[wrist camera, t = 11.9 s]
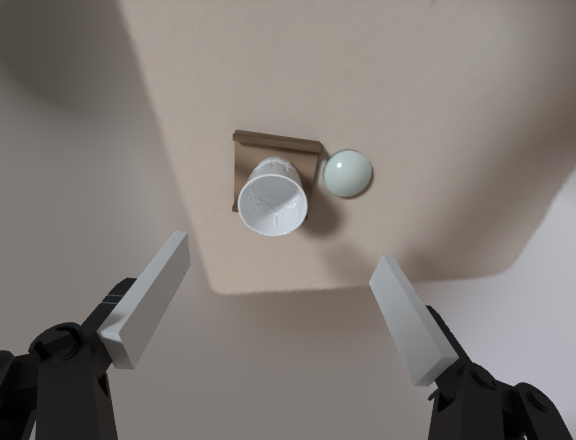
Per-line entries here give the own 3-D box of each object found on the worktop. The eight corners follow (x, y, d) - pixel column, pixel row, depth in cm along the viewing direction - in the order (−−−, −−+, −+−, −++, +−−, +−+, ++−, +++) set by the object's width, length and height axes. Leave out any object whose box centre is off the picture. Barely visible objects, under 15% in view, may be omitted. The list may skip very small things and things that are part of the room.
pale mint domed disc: (328, 145, 32) (330, 148, 30) (373, 152, 33) (378, 155, 31) (318, 189, 36) (320, 194, 34) (359, 194, 36) (363, 199, 34)
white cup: (286, 141, 30) (287, 160, 22) (309, 188, 34) (318, 220, 25) (239, 167, 32) (223, 194, 23) (266, 209, 36) (260, 245, 27)
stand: (236, 129, 30) (232, 132, 28) (319, 141, 31) (322, 145, 29) (235, 205, 36) (232, 212, 34) (305, 212, 37) (306, 220, 35)
